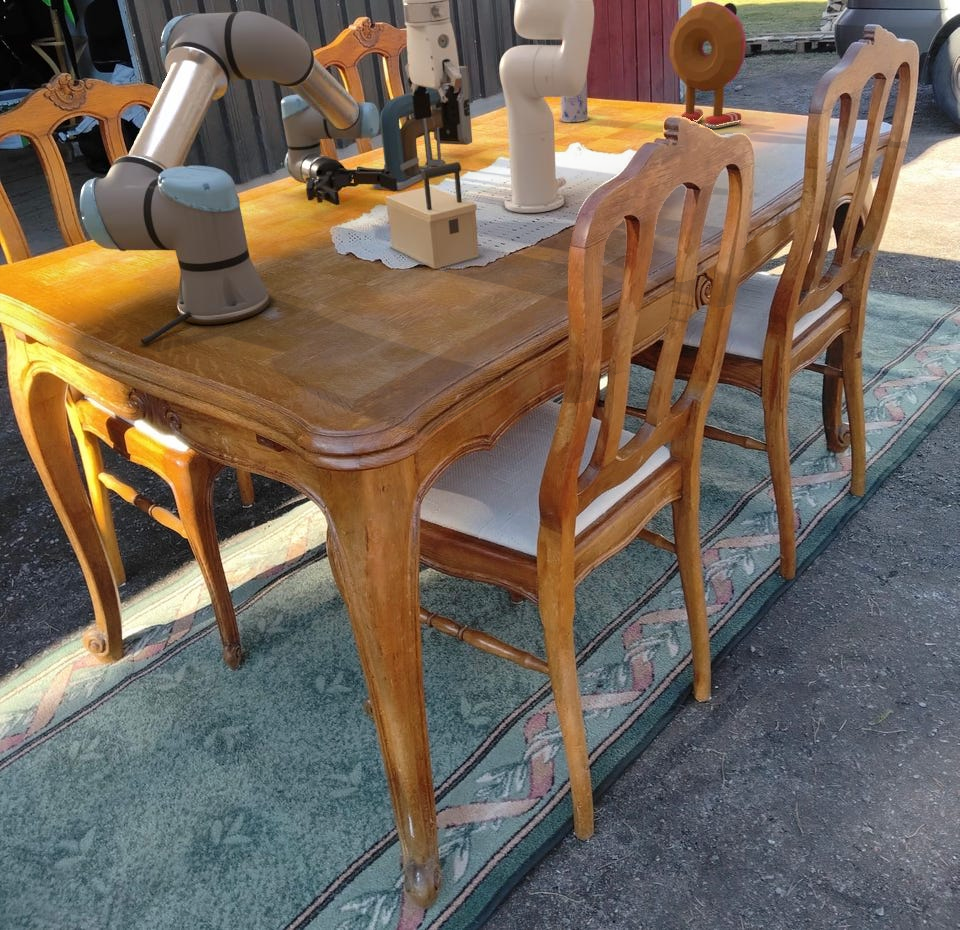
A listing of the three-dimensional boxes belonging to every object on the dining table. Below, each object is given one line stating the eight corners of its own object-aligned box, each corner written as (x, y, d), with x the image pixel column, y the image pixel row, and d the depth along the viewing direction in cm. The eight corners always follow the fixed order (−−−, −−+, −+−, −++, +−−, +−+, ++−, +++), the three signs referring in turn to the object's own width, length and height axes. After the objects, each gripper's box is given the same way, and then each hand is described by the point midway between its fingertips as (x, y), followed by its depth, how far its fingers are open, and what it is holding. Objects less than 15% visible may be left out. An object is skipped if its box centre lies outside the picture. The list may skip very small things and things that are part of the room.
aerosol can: (559, 122, 275) (557, 47, 265) (562, 117, 282) (559, 42, 272) (587, 121, 274) (585, 45, 263) (589, 115, 280) (587, 41, 270)
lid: (476, 210, 175) (473, 163, 171) (431, 221, 171) (426, 174, 167) (430, 192, 188) (425, 148, 184) (386, 202, 184) (380, 158, 180)
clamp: (400, 190, 224) (389, 93, 213) (369, 188, 228) (356, 93, 217) (473, 154, 250) (466, 66, 239) (444, 152, 254) (436, 66, 243)
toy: (751, 123, 256) (760, -2, 241) (731, 131, 250) (739, 4, 235) (683, 117, 270) (686, -2, 254) (662, 124, 263) (664, 3, 248)
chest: (479, 256, 180) (475, 210, 175) (434, 269, 176) (429, 221, 171) (434, 236, 192) (430, 192, 188) (392, 247, 188) (386, 203, 184)
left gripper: (375, 179, 225) (420, 197, 209) (275, 202, 214) (314, 222, 198) (371, 146, 221) (416, 161, 205) (269, 167, 210) (308, 185, 194)
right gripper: (473, 13, 154) (481, 124, 163) (421, 8, 167) (431, 112, 175) (433, 19, 151) (443, 132, 159) (382, 14, 164) (394, 119, 172)
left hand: (366, 191), depth 202 cm, fingers open, 13 cm apart
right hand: (437, 121), depth 167 cm, fingers open, 9 cm apart
